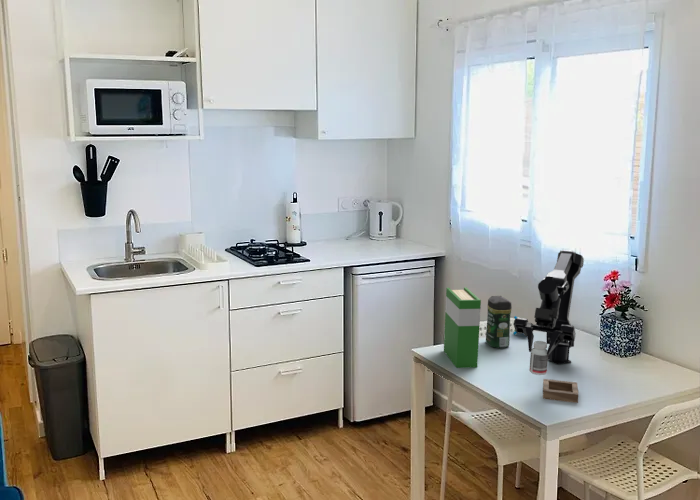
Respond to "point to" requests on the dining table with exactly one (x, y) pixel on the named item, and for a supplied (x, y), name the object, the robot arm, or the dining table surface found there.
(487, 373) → the dining table surface
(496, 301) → the coffee jar
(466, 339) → the hardback book
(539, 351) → the pill bottle
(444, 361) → the dining table surface
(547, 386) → the socket block
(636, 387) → the dining table surface
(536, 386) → the dining table surface
